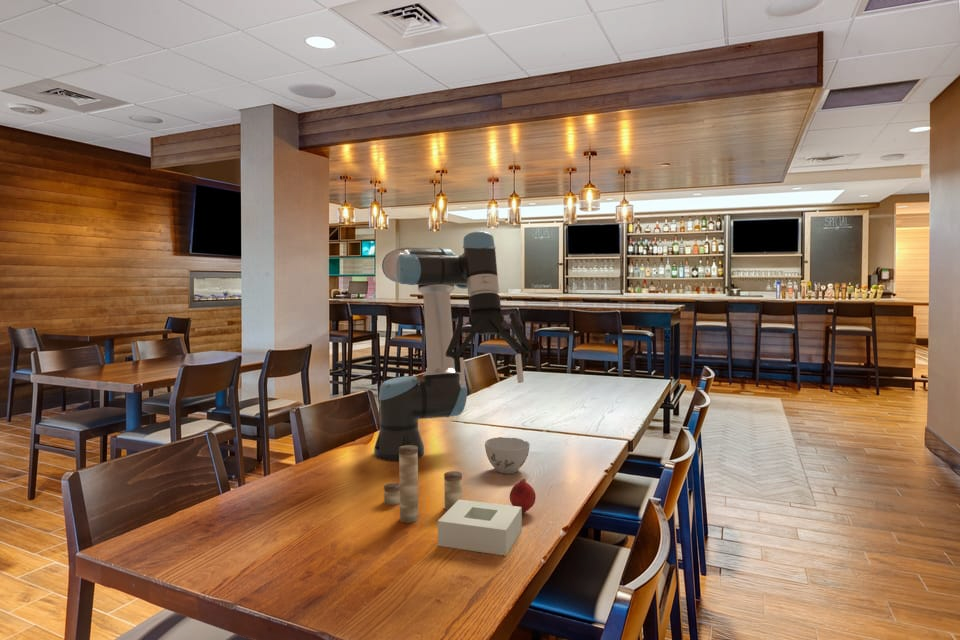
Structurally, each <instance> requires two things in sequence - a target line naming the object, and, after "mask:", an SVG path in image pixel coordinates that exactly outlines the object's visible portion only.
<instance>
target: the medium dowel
mask: <svg viewBox="0 0 960 640" xmlns="http://www.w3.org/2000/svg"><path fill="white" fill-rule="evenodd" d="M462 475H463V473H462V472H461V471H457V470H455V471H453V470H451V471H450V470H449V471H447V472H444V474H443V479H444V481H443V484H444V510H445V511H446V512H447V511H448V510H449V509H450V508H451V507H452V506H453V505H454V504H455V503H456V502H457V501H458V500H459V499H460V500H463V484H462V483H463V482H462V481H463V476H462Z"/></svg>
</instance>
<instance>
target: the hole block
mask: <svg viewBox="0 0 960 640" xmlns="http://www.w3.org/2000/svg"><path fill="white" fill-rule="evenodd" d="M522 515H523V513H522V507H518V506H512V505H510V504H509V505H508V504H507V505H506V504H500V503H491V502H482V501H474V500H467V499H462V500H460V499H459V500H458V501H457V502H456V503H455V504H454V505H453V506H452V507H451V508H450V509H449V510H448V511H447V510H446V512H445V513H444V514H443V515H442V516H441V517H440V518H439V519H438V520H437V546H439V547H445V548H449V549H451V548H452V549H458V550H465V551H472V552H479V553H485V554H491V555H497V556H503V555H504V556H506V557H507V555H508V554H509V552H510V551H511V549H512V547H513V545H514V544H515V542H516V540H517V539H518V537H519V535H520V534H521V532H522V527H523V526H522V521H523V520H522V519H523V518H522V517H523V516H522Z"/></svg>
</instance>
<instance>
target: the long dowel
mask: <svg viewBox="0 0 960 640" xmlns="http://www.w3.org/2000/svg"><path fill="white" fill-rule="evenodd" d="M418 460H419V457H418V447H417V446H414V445H405V446H401V447H399V461H398V464H399V468H398V469H399V471H398V472H399V476H398V477H399V484H400V504H399V521H400V522H401V521H402V522H401V523H403V522H406V523H405V524H412V523H411V522H413V523H415V521H416V522H417V521H418V520H419V480H418V479H419V477H418V476H419V475H418V473H419V468H418V467H419V465H418V464H419V463H418V462H419V461H418Z"/></svg>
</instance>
